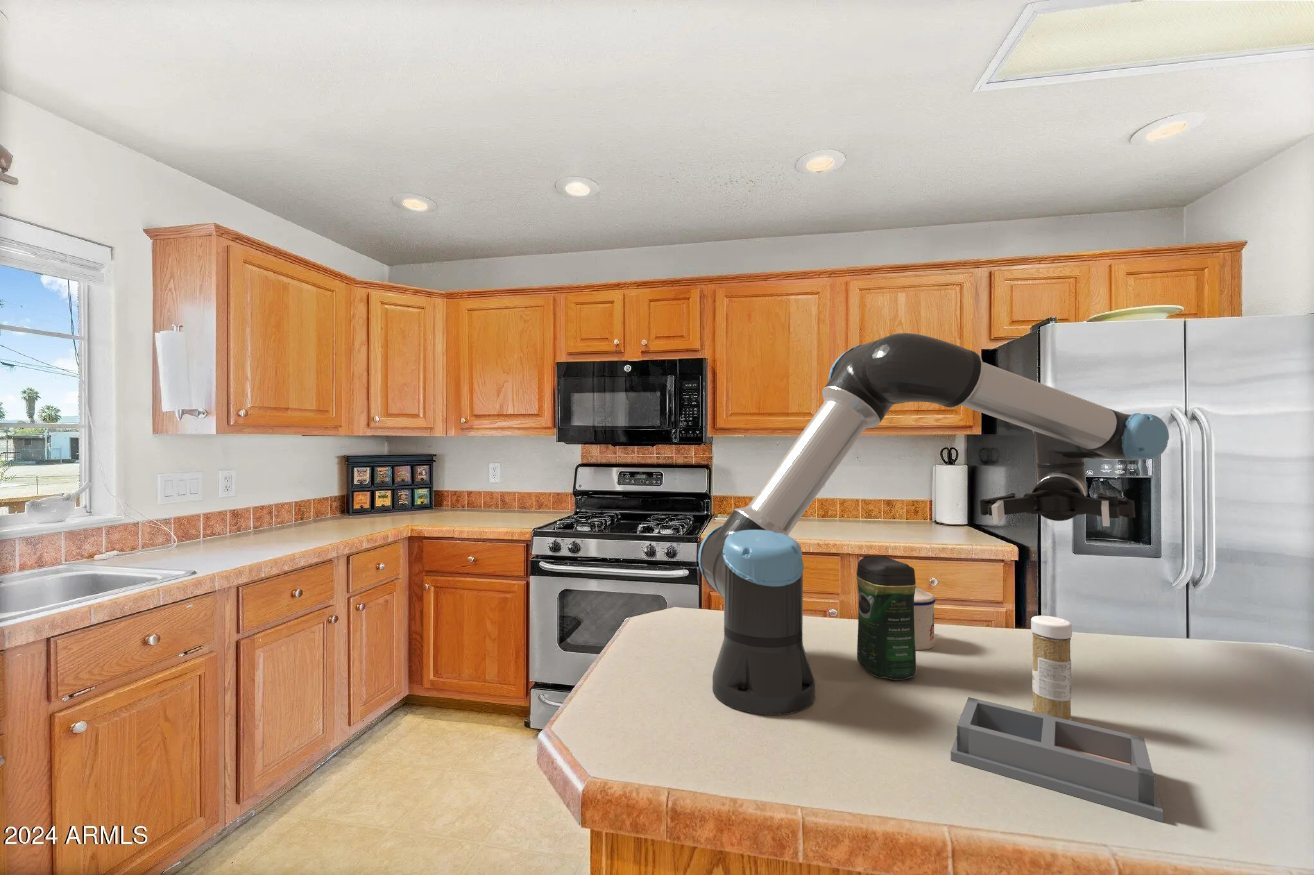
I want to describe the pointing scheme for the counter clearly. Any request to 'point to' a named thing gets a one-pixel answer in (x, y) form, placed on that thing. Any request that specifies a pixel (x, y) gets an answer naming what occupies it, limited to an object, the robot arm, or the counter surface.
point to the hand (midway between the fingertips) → (1047, 515)
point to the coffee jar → (886, 617)
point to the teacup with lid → (923, 619)
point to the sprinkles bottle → (1051, 666)
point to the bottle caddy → (1059, 756)
